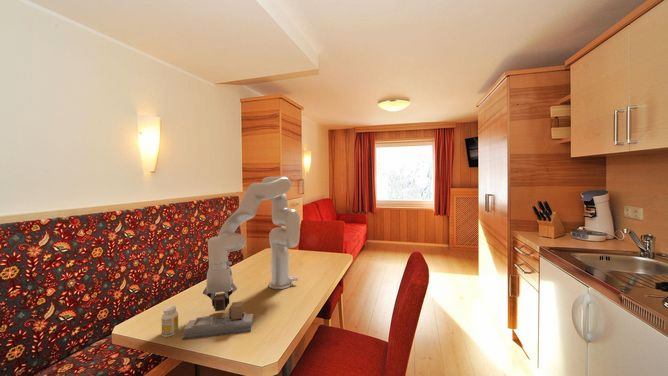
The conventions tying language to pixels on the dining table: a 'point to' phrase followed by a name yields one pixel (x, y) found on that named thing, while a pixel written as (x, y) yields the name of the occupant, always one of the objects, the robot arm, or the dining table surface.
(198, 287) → the dining table surface
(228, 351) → the dining table surface
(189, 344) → the dining table surface
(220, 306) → the brown rectangular block
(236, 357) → the dining table surface
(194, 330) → the rail
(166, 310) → the supplement bottle
